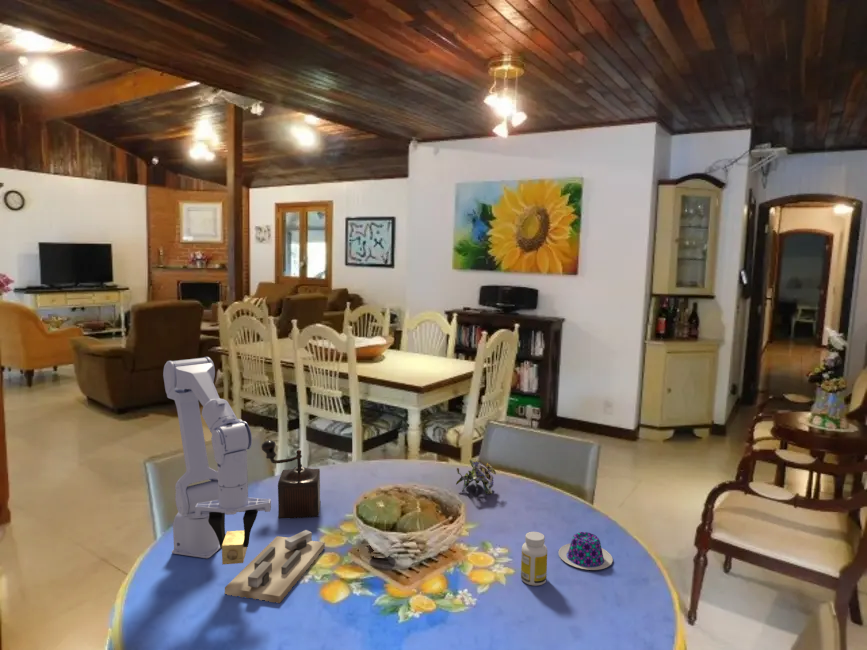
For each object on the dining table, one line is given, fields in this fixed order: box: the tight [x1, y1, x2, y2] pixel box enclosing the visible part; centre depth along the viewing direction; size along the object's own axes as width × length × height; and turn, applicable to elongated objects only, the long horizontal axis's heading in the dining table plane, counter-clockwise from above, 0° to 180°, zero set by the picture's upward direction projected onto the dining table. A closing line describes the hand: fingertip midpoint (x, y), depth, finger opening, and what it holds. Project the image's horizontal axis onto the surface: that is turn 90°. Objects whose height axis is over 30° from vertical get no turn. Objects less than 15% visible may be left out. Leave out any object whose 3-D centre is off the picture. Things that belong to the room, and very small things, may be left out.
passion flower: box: [455, 458, 497, 496], centre depth 170 cm, size 11×11×12 cm
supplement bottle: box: [520, 531, 548, 587], centre depth 125 cm, size 5×5×10 cm
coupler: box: [221, 529, 248, 565], centre depth 121 cm, size 4×7×4 cm, turn 10°
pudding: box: [558, 531, 614, 571], centre depth 135 cm, size 12×12×5 cm
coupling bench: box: [224, 529, 326, 604], centre depth 128 cm, size 12×22×4 cm, turn 167°
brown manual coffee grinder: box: [261, 439, 322, 519], centre depth 156 cm, size 16×11×18 cm
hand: (234, 545), depth 121 cm, fingers open, 4 cm apart
